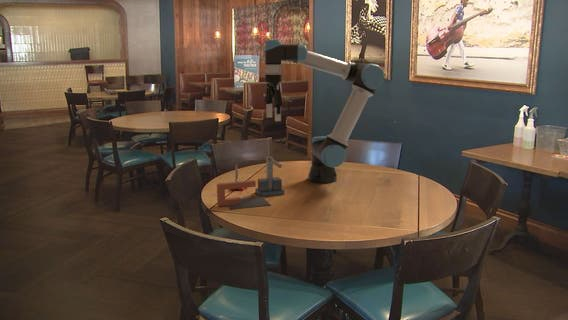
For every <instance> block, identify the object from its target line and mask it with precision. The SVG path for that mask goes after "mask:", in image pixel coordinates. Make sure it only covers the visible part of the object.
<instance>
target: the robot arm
mask: <svg viewBox="0 0 568 320" xmlns="http://www.w3.org/2000/svg"><path fill="white" fill-rule="evenodd" d="M264 45H265V46H264V60H265V61H264V63H265V65H264V70H265V74H264V76H265V79H264V80H265V83H266V88H265V89H266V91H265V96H264V97H265V98H264V102H265V104H266V106H265V107H266V118H273V104H274V121H275V122H282V107H283V105H284V104H283V97H282V92H281V91H282V89H281V85H280V84H279V83H281V82H282V62H286V61H287V62H290V63H294V64H298V65H302V66H304V67H305V66H306V67H307V68H312V69H314V70H317V71H320V72H324V73H327V74H331V75H334V76H338V77H341V80H343V81H347V82H349V83H351V87H352V91H351V93H350V95H349V97H348V99H347V101H346V103H345V106H344V107H343V109H342V112H341V114H340V115H339V117H338V119H337V121H336V124H335V125H334V127H333V130H332V132H331V133H330V134H328V135H326V136H324V135H322V136H313V137H312V139H311V166H310V170H309V171H308V176H307V179H308V181H310V182H313V183H320V184H323V183H324V184H327V183H333V182H336V181H337V180H338V175H337V171H336V168H338V167H340V166H342V165H343V164H344V162H345V160H346V157H347V153H346V151H347V149H348V147H349V143H348V140H349V138H350V136H351V134H352V131H353V130H354V128H355V126H356V124H357V122H358V120H359V118H360V117H361V114H362V111H363V109H364V108H365V105H366V104H367V102H368V100H369V98H371V97H373V96H374V94H375V93H376V91H377V89H379V88H380V87H382V86H383V85H384V83H385V78H386V75H385V72H384V70H383V68H382V67H381V66H380V65H378V64H375V63H366V62H365V63H364V62H363V63H359V62H353V61H349V60H348V61H346V62H345V61H342V60H339V59H336V58H333V57H329V56H326V55H323V54H320V53H317V52H315V51H310V50H308V48H307V46H306V45H305V44H300V43H299V44H298V43H297V44H291V43H290V44H282V41H281V40H280V39H267V40H266V41H265V43H264ZM273 101H274V103H273Z"/></svg>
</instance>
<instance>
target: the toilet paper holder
mask: <svg viewBox="0 0 568 320" xmlns="http://www.w3.org/2000/svg"><path fill="white" fill-rule="evenodd" d="M265 158H266V161H265V162H266V171H265V172H266V174H265V175H266V177H265V178H257V187H255V191H254V192H255V193H256V195H258V196H262V197H263V198H264V197H271V196H272V197H275V196H283V195H285V189H283V185H282V184H283V180H282V178H280V177H279V176H276V177H274V173H273V172H274V169H273V167H274V166H276V167H277V168H279V169H280V168H282V164H281V163H279V162H278V161H277V160H275V159H274V157H273V156H271V155H270V156H266V157H265ZM273 165H274V166H273Z"/></svg>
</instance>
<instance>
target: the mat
mask: <svg viewBox="0 0 568 320" xmlns="http://www.w3.org/2000/svg"><path fill="white" fill-rule="evenodd" d="M240 198H241V204H234V205H227V206H228V208H229V209H230V210H231V211H232V210H239V209H249V208H250V209H251V208H260V207H266V206H267V207H268V206H269V207H270V206H272V205H271V203H269V202H268V200H266V198H264V197H262V196H259V195H258V196H251V197H240Z"/></svg>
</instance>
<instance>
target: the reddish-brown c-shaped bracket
mask: <svg viewBox="0 0 568 320" xmlns="http://www.w3.org/2000/svg"><path fill="white" fill-rule="evenodd" d="M256 183H257V182H256V180H253V179H251V180H241V181H240V180H239V181H238V182H235V181H231V182H229V181H228V182H221V183H220V182H219V183H216V201H217V202H216V203H217V206H218V207H225V206H228V205H234V204H241V198H242V197H239V196H238V197H228V198H226V190H230V189H237V188H246V189H247V188H254V187H255V188H257V187H256V185H257V184H256Z"/></svg>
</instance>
